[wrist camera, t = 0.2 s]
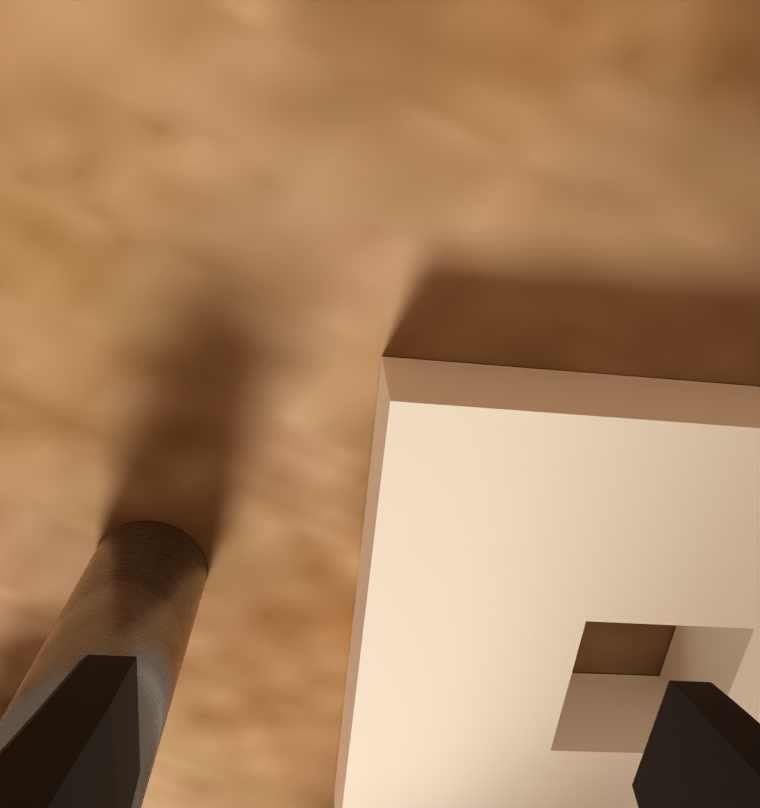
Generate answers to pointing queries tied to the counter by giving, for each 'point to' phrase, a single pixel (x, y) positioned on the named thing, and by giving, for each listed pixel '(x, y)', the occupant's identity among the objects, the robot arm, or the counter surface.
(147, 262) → the counter surface
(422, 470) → the hole block
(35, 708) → the tall pin
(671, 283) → the counter surface
